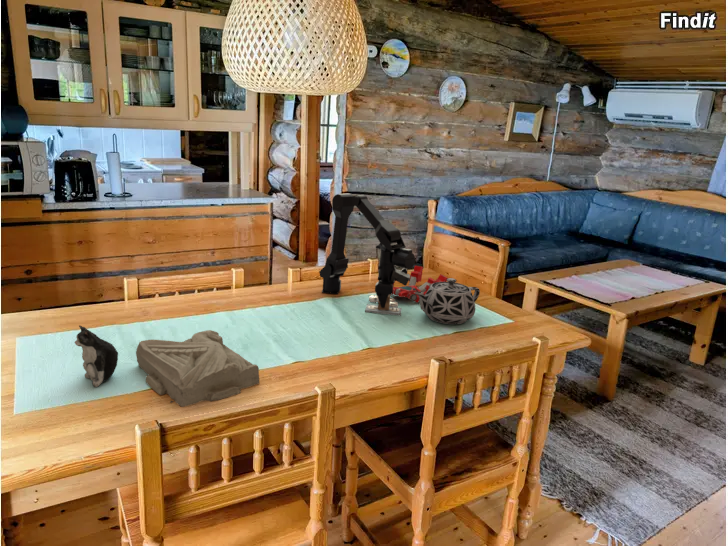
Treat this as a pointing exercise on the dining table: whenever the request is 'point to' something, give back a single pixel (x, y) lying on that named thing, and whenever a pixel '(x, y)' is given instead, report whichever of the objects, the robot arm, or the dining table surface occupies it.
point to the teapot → (449, 302)
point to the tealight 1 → (373, 298)
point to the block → (385, 304)
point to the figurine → (96, 356)
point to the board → (375, 310)
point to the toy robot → (409, 290)
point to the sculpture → (195, 368)
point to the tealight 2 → (393, 304)
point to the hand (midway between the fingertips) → (383, 303)
